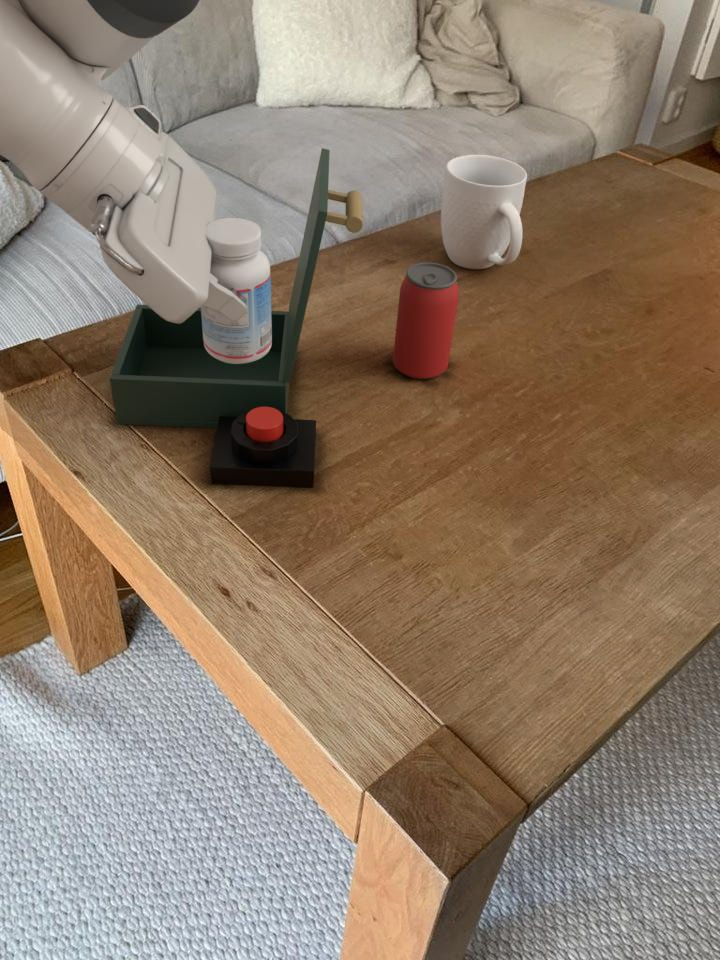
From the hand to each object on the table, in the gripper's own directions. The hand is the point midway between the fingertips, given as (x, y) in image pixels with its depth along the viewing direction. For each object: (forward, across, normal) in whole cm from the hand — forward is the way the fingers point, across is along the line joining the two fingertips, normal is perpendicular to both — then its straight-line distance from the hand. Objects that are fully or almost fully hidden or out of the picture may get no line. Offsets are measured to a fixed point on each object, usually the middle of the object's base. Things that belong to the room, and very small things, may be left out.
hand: (242, 289), depth 70 cm
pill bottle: (+4, 0, +5) cm, 6 cm away
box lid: (+7, +12, -1) cm, 14 cm away
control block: (+15, 0, +12) cm, 19 cm away
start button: (+12, 0, +10) cm, 16 cm away
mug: (+37, +43, -9) cm, 57 cm away
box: (+11, +13, +17) cm, 24 cm away
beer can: (+28, +17, 0) cm, 33 cm away
